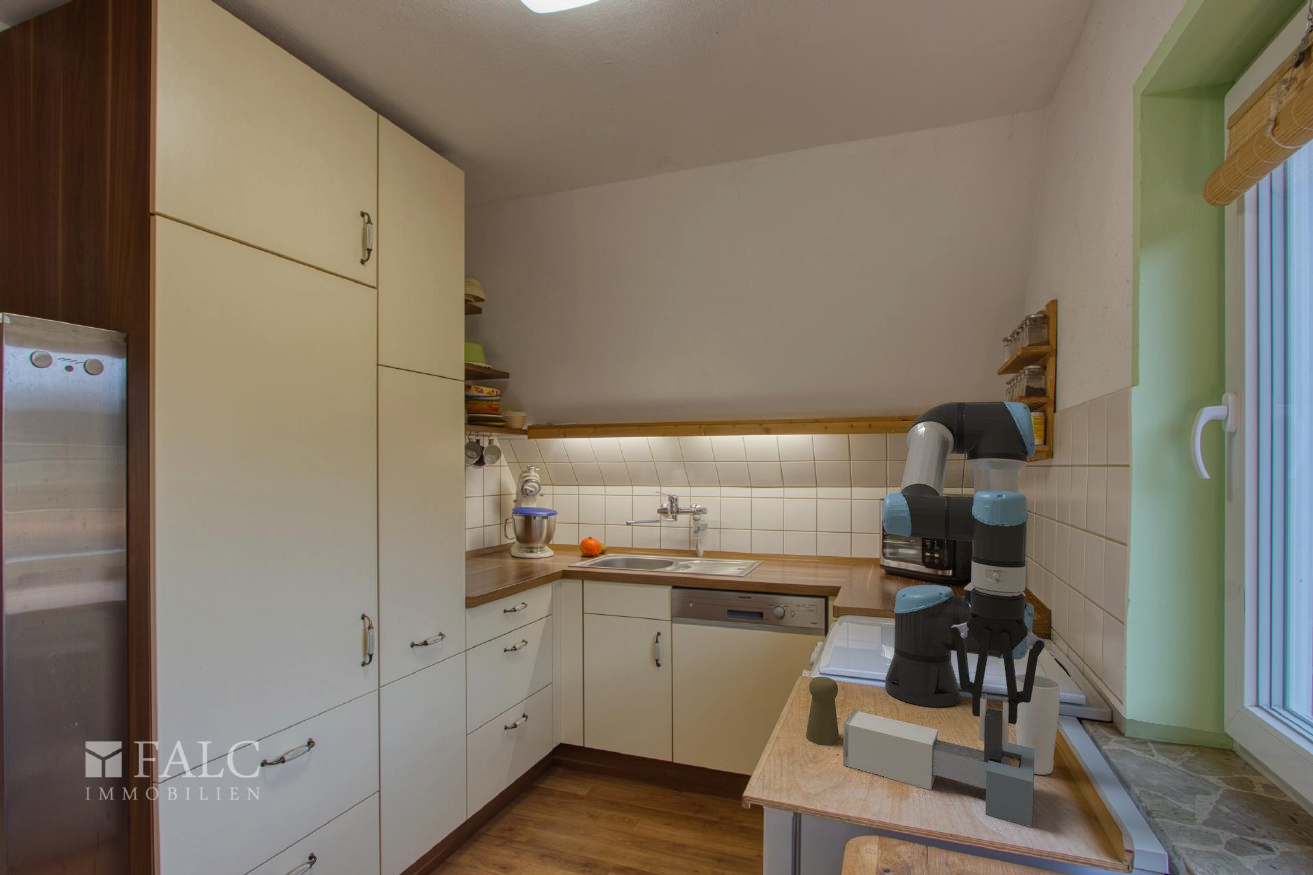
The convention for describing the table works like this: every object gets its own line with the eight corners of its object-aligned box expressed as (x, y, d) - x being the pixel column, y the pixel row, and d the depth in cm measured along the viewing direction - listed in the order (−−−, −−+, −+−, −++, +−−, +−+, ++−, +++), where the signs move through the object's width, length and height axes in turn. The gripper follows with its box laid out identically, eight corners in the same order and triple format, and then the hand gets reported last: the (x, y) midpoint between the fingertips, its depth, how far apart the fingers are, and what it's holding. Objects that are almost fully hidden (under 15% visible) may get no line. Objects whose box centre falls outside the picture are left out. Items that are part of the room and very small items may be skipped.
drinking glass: (1062, 781, 107) (1064, 690, 107) (1015, 773, 110) (1017, 684, 110) (1053, 762, 114) (1054, 676, 114) (1009, 755, 116) (1011, 671, 116)
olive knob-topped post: (840, 747, 118) (841, 686, 118) (806, 743, 119) (807, 683, 119) (838, 732, 124) (839, 674, 124) (805, 728, 125) (806, 671, 125)
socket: (991, 778, 108) (992, 738, 108) (1033, 789, 105) (1034, 748, 105) (985, 814, 98) (986, 770, 98) (1031, 827, 95) (1032, 781, 95)
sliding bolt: (898, 754, 112) (900, 689, 112) (1018, 784, 102) (1020, 714, 102) (893, 764, 108) (895, 697, 108) (1017, 797, 99) (1019, 724, 99)
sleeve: (852, 750, 117) (853, 710, 117) (936, 772, 110) (937, 729, 110) (842, 765, 111) (843, 723, 111) (930, 789, 104) (931, 744, 104)
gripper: (940, 587, 103) (936, 736, 103) (1055, 602, 95) (1051, 763, 95) (947, 579, 110) (943, 718, 110) (1055, 592, 101) (1051, 743, 102)
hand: (993, 739), depth 102 cm, fingers closed on sliding bolt, 2 cm apart
